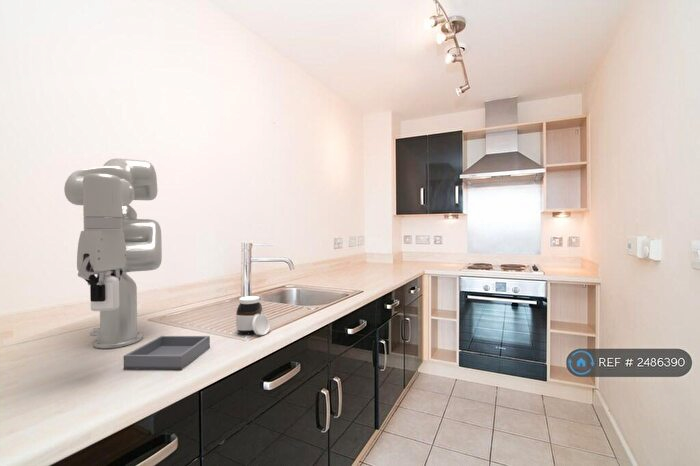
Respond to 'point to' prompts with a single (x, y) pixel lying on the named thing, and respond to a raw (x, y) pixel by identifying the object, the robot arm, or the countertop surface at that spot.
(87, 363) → the countertop surface
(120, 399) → the countertop surface
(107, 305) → the eye dropper bottle
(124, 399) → the countertop surface
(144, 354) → the dish
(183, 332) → the countertop surface
